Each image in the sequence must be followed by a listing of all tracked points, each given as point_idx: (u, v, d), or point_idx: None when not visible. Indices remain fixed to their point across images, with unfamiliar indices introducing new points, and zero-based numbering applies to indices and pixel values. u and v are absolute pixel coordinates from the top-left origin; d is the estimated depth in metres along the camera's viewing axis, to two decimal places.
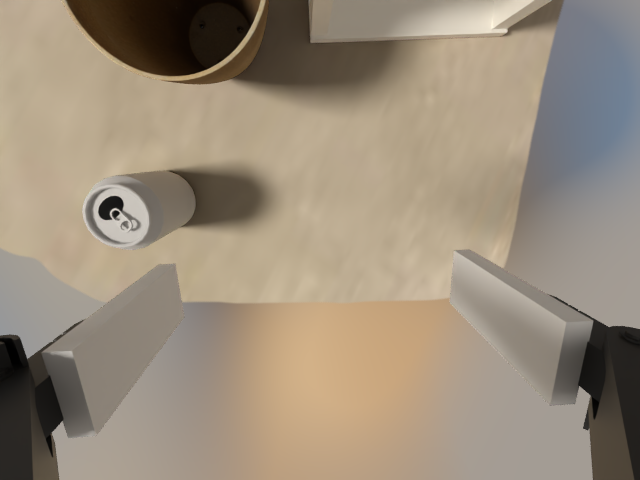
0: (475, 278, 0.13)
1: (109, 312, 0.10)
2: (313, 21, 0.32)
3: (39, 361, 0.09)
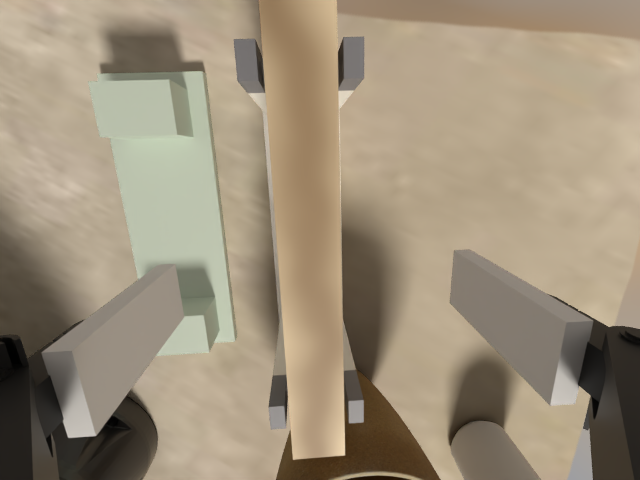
0: (475, 279, 0.13)
1: (109, 312, 0.10)
2: None
3: (39, 361, 0.09)
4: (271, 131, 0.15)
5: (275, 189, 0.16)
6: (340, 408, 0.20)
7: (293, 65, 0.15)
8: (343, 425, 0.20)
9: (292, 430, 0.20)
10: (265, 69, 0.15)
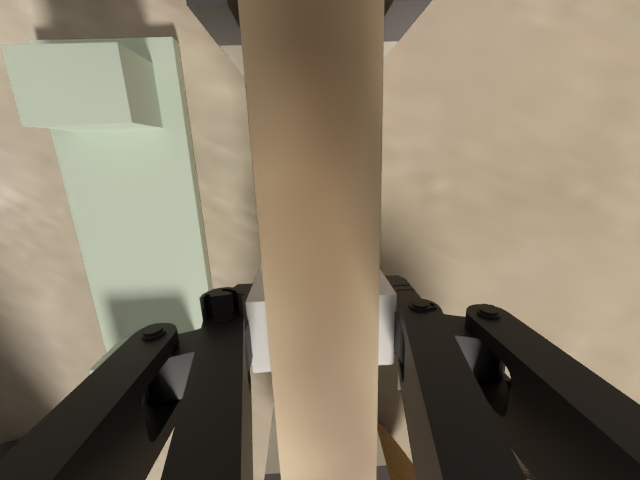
0: None
1: None
2: None
3: None
4: (252, 103, 0.08)
5: (262, 212, 0.09)
6: None
7: None
8: None
9: None
10: None
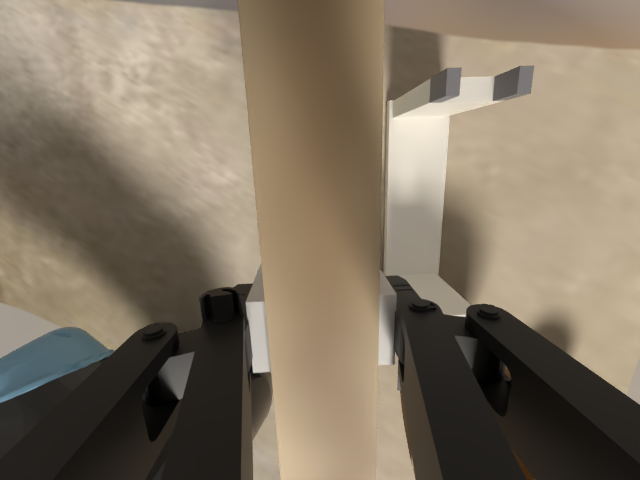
0: None
1: None
2: None
3: None
4: (252, 102, 0.08)
5: (261, 211, 0.09)
6: None
7: None
8: None
9: None
10: None
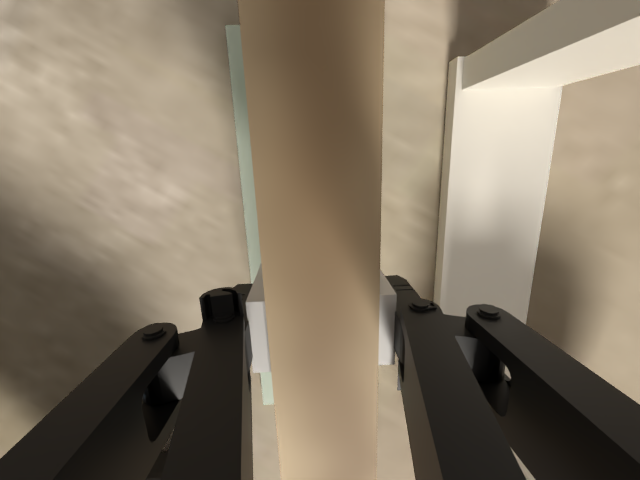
0: None
1: None
2: None
3: None
4: (252, 102, 0.08)
5: (261, 210, 0.09)
6: None
7: None
8: None
9: None
10: None
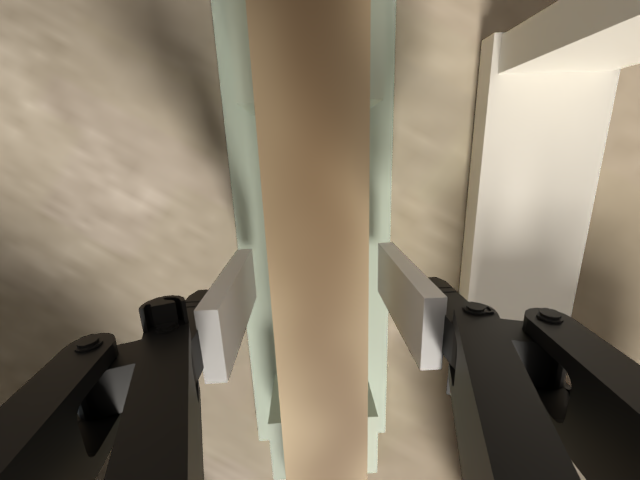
0: (387, 267, 0.14)
1: (225, 284, 0.12)
2: None
3: None
4: (259, 110, 0.09)
5: (266, 203, 0.10)
6: None
7: None
8: None
9: None
10: (248, 4, 0.09)
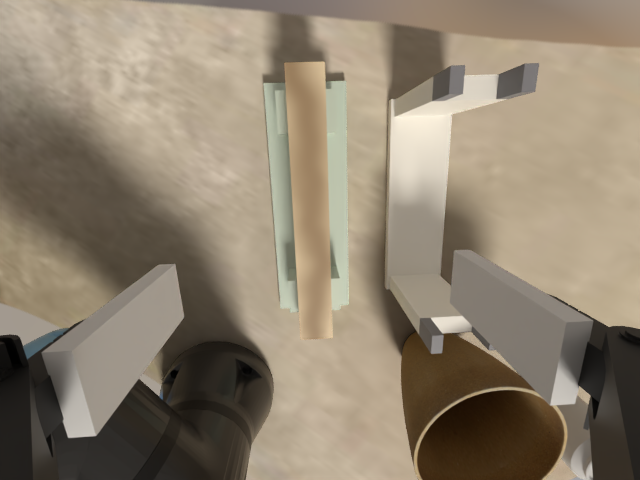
0: (474, 279, 0.13)
1: (109, 312, 0.10)
2: None
3: (39, 361, 0.09)
4: (290, 139, 0.28)
5: (292, 171, 0.29)
6: (329, 305, 0.33)
7: (302, 105, 0.28)
8: (331, 317, 0.33)
9: (300, 319, 0.33)
10: (287, 107, 0.28)
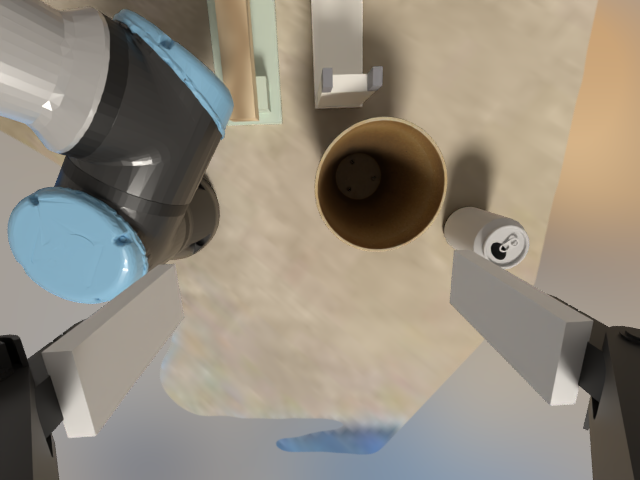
0: (475, 278, 0.13)
1: (109, 312, 0.10)
2: (364, 99, 0.42)
3: (39, 361, 0.09)
4: None
5: None
6: (250, 84, 0.38)
7: None
8: (253, 96, 0.38)
9: None
10: None
